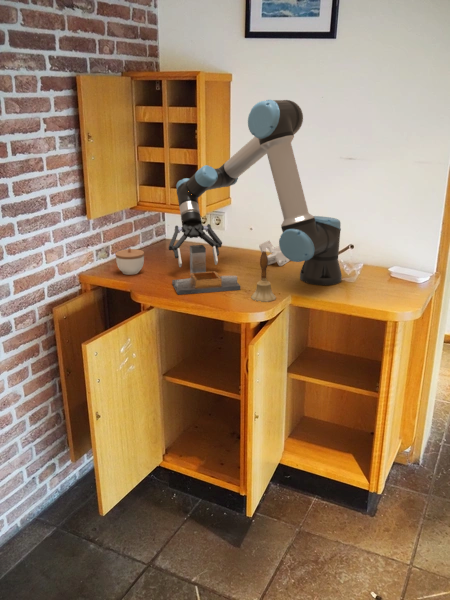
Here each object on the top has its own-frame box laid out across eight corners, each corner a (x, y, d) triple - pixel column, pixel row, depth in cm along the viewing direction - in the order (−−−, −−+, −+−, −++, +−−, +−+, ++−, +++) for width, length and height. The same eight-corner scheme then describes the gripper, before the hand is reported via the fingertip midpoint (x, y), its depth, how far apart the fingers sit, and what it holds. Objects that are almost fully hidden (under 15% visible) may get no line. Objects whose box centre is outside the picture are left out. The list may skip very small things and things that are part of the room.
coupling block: (203, 272, 214) (202, 244, 210) (205, 276, 209) (205, 248, 205) (190, 273, 213) (189, 245, 209) (192, 277, 208) (192, 248, 204)
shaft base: (231, 279, 206) (231, 269, 205) (240, 289, 195) (240, 278, 194) (172, 283, 201) (172, 273, 200) (177, 294, 190) (177, 283, 189)
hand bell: (258, 303, 183) (259, 256, 177) (247, 295, 190) (247, 249, 184) (280, 300, 186) (282, 253, 180) (268, 292, 193) (270, 247, 187)
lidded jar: (144, 267, 220) (143, 244, 217) (145, 275, 210) (144, 251, 207) (116, 268, 218) (115, 245, 215) (116, 277, 208) (114, 252, 205)
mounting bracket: (280, 263, 233) (271, 238, 232) (293, 259, 230) (284, 234, 228) (268, 270, 223) (258, 245, 222) (281, 266, 220) (272, 240, 218)
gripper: (220, 219, 222) (229, 266, 214) (157, 222, 216) (164, 271, 208) (223, 208, 215) (233, 257, 207) (158, 211, 210) (165, 261, 201)
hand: (198, 264), depth 207 cm, fingers open, 13 cm apart
